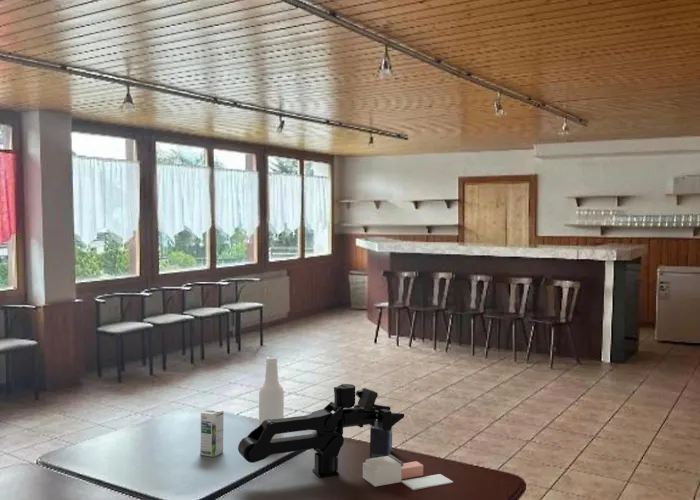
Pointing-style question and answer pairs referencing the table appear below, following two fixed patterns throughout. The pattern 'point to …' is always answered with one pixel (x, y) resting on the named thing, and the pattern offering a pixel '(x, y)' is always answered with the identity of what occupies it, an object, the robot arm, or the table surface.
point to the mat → (426, 481)
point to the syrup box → (211, 432)
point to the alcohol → (271, 395)
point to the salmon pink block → (411, 470)
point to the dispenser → (382, 470)
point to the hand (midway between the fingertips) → (397, 411)
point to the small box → (380, 442)
